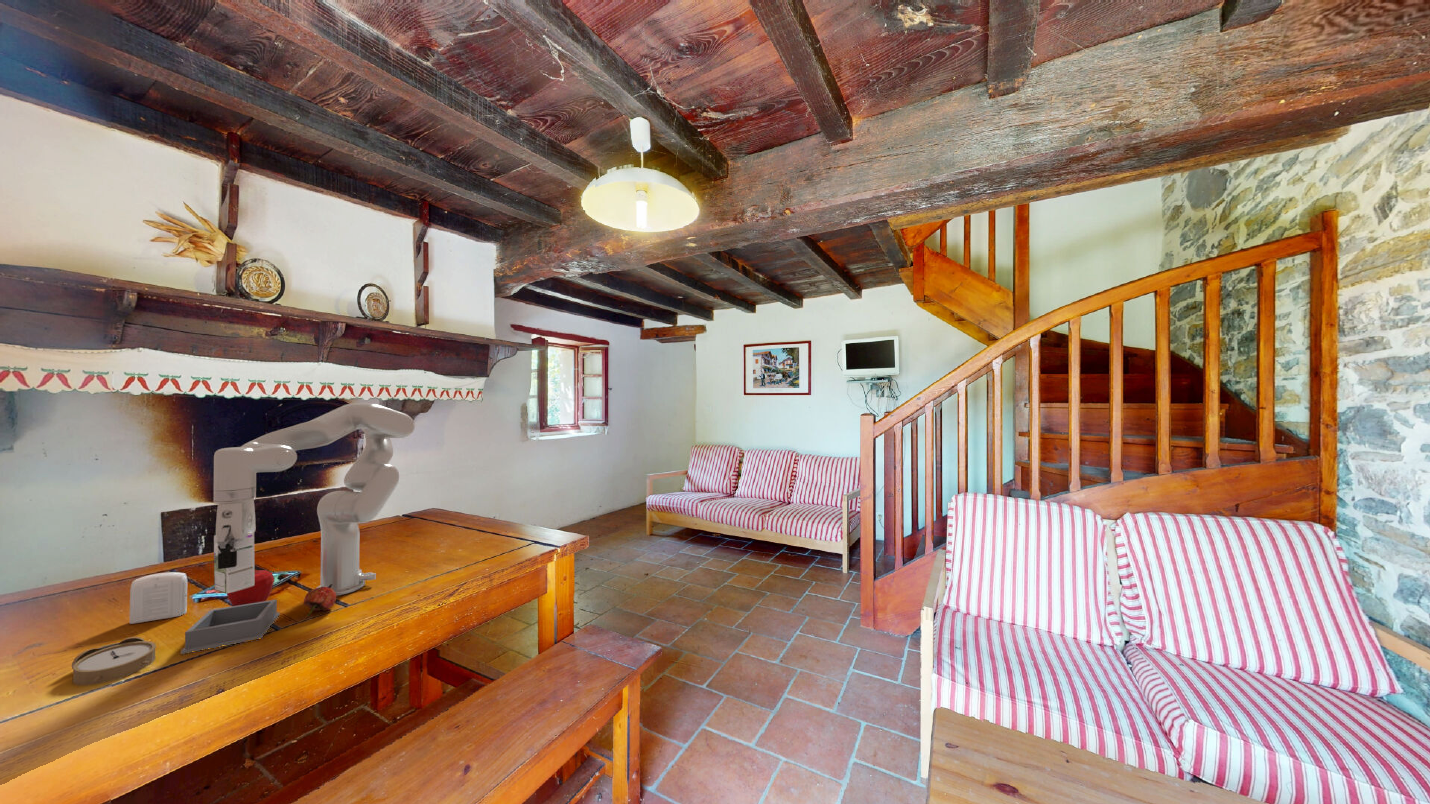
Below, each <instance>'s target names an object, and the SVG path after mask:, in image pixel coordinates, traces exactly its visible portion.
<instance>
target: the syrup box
mask: <svg viewBox="0 0 1430 804" xmlns="http://www.w3.org/2000/svg"><path fill="white" fill-rule="evenodd" d="M228 539H234V537H228V538H227V540H228ZM229 544H230V545H232V543H229ZM235 551H237V566H235V567H231V568H224V569H218V543H217V541H216V534H214V535H213V559H214V560H213V563H214V564H213V573H214V574H213V576H214V577H213V578H214V579H213V582H214V584H213V586H214V591H216V592H219V593H223V594H227V593H231V592H235V591H239V590H242V589H245V588H248V587H251V586H254V575H255V574H254V571H255V532H249V533H248V537H247V538H245V539H244V540H241V541H240V540H239V539H237V544H236V548H235Z"/></svg>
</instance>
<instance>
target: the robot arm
mask: <svg viewBox="0 0 1430 804" xmlns="http://www.w3.org/2000/svg"><path fill="white" fill-rule="evenodd" d="M358 430H362V431H363V434H364V437H365V445H364V448H363V451H361V454H360V455H359V456H358V457H357V459H356V460H355V462H354V463H353V464H352V465H351V467H350V468H349V469H348V470H347V472H346V474H345V476H344V478H343V483H344V487H346V488H347V489H349V490H353V491H349V490H335V491H330V492H328V493H326V494H325V495H324V496H322V497H321V498H320V500H319V501H318V504H317V508H316V513H317V517H318V522H319V525H320V526H319V527H320V538H321V539H320V585H319V586H317V587H316V588H319V587H328V586H330V584H332V586H331V588H332V589H333V591H334V592H335V593H336V597H337V596H342V595H343V596H344V595H346V594H350V593H353V592H356V591H358V590H360V589H361V588H363V587H364V586H365V584H366V581H372V580H376V578H377V577H376V575H377V573H376V572H374V573H373V572H372V571H370V572H365V573H364V572H362V568H360V527H359V525H358V524H364V523H368V522H370V521H372V520H374V519H375V518H376V517H377V516H378V515H379V513H381V510H382V509H383V508H384V506H385V505H386V503H387V502H388V500H389V499H390V497H391V496H392V494H393V493H394V491H395V489H396V487H398V484H399V479H400V473H399V471H398V469H397V467H396V466H394V465H392V464H389V462H390V461H391V460H392V457H393V454H394V448H393V445H392V440H391V439H405V438H407V437H409V436H410V435H412V434H413V432H414V430H415V421H414V420H413V418H412V417H411V416H410V415H409V414H407V413H405V412H401V411H398V410H394V409H392V408H389V407H386V406H383V405H380V404H377V403H357V402H356V403H355V402H353V403H348V404H344V405H342V406H340V407H337V408H335V409H332V410H330V411H329V412H326V413H324V414H322V415H320V416H318V417H315V418H313V419H311V420H309V421H306V422H305V421H304V422H301V423H298V424H295V425H292V426H289V427H286V428H281V429H278V430H275V431H271V432H268V433H266V434H264V435H261V436H259V437H256V438H255V439H253V440H250V441H248V442H246V443H244V444H242V445H241V446H237V447H233V446H232V447H224V448H223V447H222V448H220V449H219V448H218V449H217V450H216V451H215V452H214V455H213V504H216V505H217V508H216V509H217V510H216V520H215V535H216V541H217V543H218V569H224V568H231V567H235V566H237V551H235V548H236V544H237V539H239V540H240V541H241V540H244V539H245V538H247V537H248V533H249V532H254V533H255V532H256V527H257V526H256V523H257V522H256V512H255V511H256V508H255V501H254V500H256V499H257V473H274V472H275V473H277V472H283V471H285V470H288V469H290V468H291V467H293V466H294V465H295V463H296V462H297V460H298V454H297V451H300V450H301V451H302V450H307V449H315V448H320V447H323V446H328V445H330V444H332V443H334V442H336V441H337V440H339V439H342V438H344V437H345V436H347V435H349V434H350V433H352V432H355V431H358ZM228 537H234V539H228V540H227V538H228ZM229 543H232V545H230V544H229Z"/></svg>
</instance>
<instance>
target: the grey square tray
mask: <svg viewBox="0 0 1430 804" xmlns="http://www.w3.org/2000/svg"><path fill="white" fill-rule="evenodd" d="M277 602H278V600H277V599H271V600H266V601H263V602H257V603H251V604H245V605H238V606H233V605H232V606H225V607H221V608H215V609H210V610H209V611H207V612H206V613H205V614H204V615H202V617H200V619H199V620H198V621H196V622H195V623H194V624H193V625H192V626H191V627H189V629H187V630H185V632H184V633H185V634H184V636H185V637H184V639H185V640H184V644H185V645H184V647H183V648H181V650H180V655H181V654H183V655H186V654H185V653H188V652H192V651H198V652H200V651H199V650H202V649H203V650H204V649H208V648H214V649H217V648H216V647H219V646H222V645H230V644H234V643H240V642H243V641H246V640H254V639H259V638H262V637H263V635H264V634H265V633H266V631H267V630H268V629H269V628H270V626H271V625H272V624H273V622H274V621H275V620H276V619H277V618H278V619H279V617H280V616H279V615H281V613H280V612H278V611H277V610H278V609H277V605H278V603H277ZM278 616H279V617H278ZM278 619H277V620H278ZM277 620H276V621H277ZM276 621H275V622H276ZM275 622H274V623H275ZM273 625H274V624H273ZM273 625H272V626H273ZM272 626H271V627H272ZM270 629H271V628H270ZM270 629H269V630H270ZM269 630H268V631H269ZM266 634H267V633H266ZM266 634H265V635H266ZM263 638H264V637H263ZM263 638H262V639H263ZM240 644H241V643H240ZM230 646H231V645H230ZM219 648H220V647H219ZM204 651H205V650H204ZM188 654H189V653H188Z"/></svg>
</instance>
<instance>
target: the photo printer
mask: <svg viewBox="0 0 1430 804" xmlns="http://www.w3.org/2000/svg"><path fill="white" fill-rule="evenodd" d="M129 589H130V591H129V593H130V596H129V624H130V625H131V624H132V625H133V624H139V623H145V622H150V621H151V622H152V621H157V620H163V619H170V618H171V619H172V618H175V617H181V615H182V616H184V615H186V613H187V611H188V610H187V607H188V602H187V601H188V576H187V574H186V573H184V572H173V571H172V572H171V571H170V572H161V573H153V574H149V575H145V576H141V577H140V578H137V579H134V580H132V583H131V586H130V588H129ZM183 614H184V615H183Z"/></svg>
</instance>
